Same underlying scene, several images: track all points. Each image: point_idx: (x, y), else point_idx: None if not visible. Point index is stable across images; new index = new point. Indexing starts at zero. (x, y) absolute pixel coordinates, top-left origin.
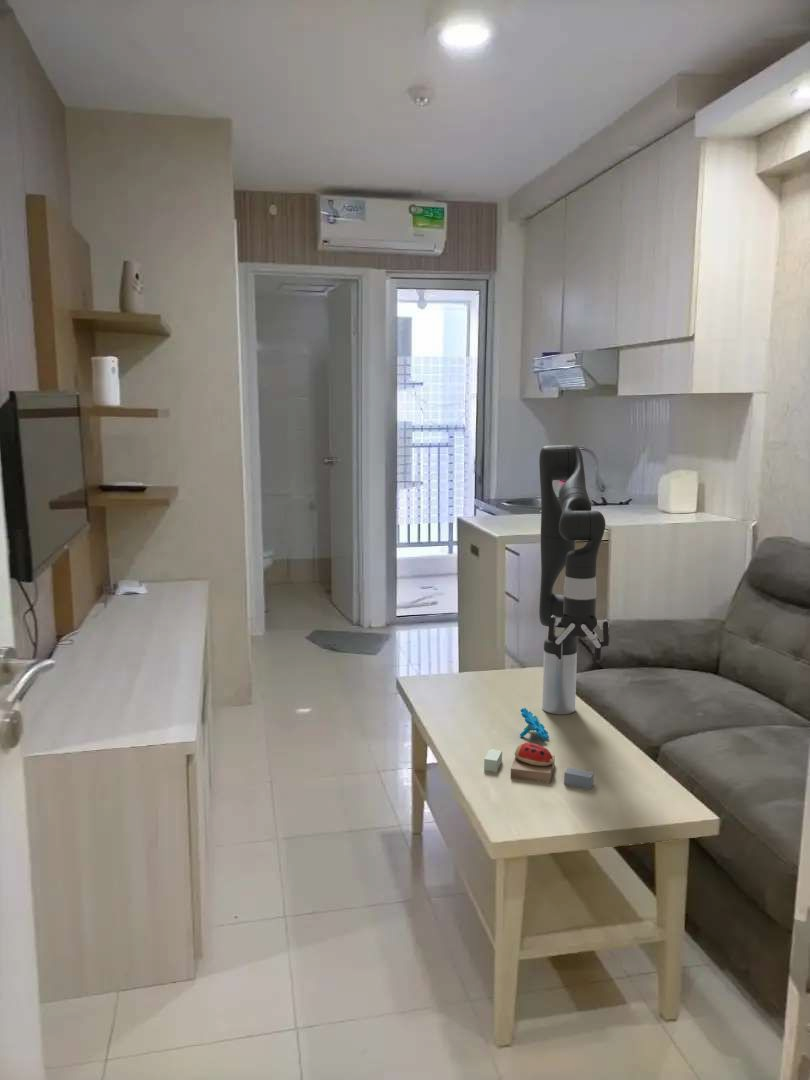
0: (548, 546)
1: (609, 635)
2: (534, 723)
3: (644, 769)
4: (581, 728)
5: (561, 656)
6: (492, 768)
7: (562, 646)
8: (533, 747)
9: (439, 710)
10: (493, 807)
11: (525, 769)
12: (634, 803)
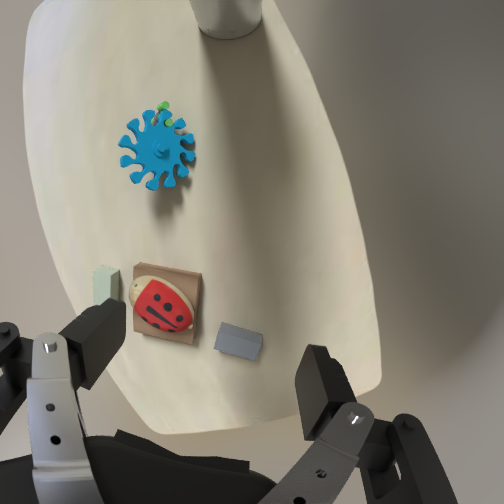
0: None
1: (434, 455)
2: (154, 162)
3: (354, 273)
4: (266, 93)
5: (119, 333)
6: None
7: (94, 337)
8: (154, 316)
9: (41, 87)
10: (136, 390)
11: (154, 333)
12: None
